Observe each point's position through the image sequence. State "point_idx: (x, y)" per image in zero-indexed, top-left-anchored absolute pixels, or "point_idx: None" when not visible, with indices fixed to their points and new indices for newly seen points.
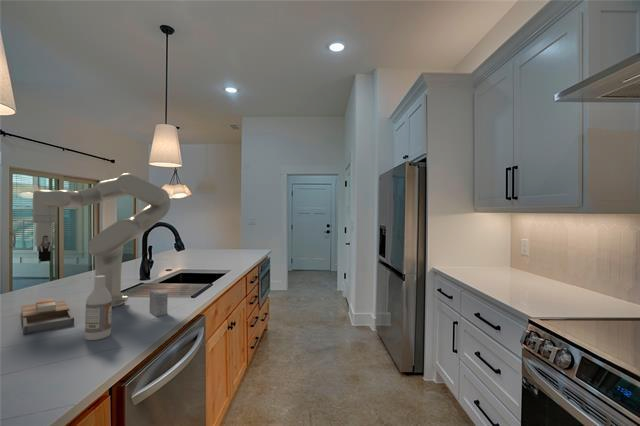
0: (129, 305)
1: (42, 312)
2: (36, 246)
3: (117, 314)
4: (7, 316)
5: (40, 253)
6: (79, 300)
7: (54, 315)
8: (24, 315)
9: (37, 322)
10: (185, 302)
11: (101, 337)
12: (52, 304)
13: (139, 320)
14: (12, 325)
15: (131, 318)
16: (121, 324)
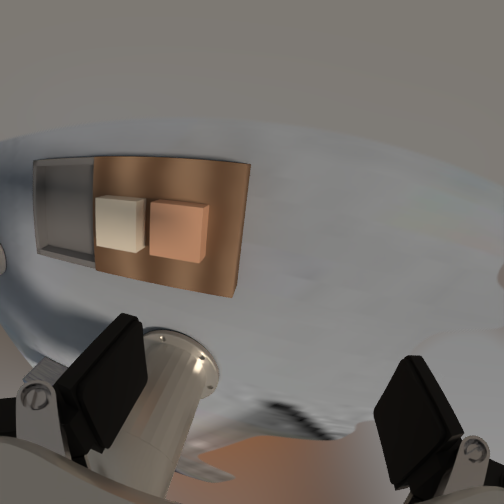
0: None
1: None
2: (36, 448)
3: (78, 334)
4: (244, 125)
5: (68, 370)
6: (300, 341)
7: None
8: (99, 160)
9: (88, 187)
10: None
11: None
12: (103, 238)
13: (35, 331)
14: (120, 134)
15: (47, 332)
16: (27, 304)
